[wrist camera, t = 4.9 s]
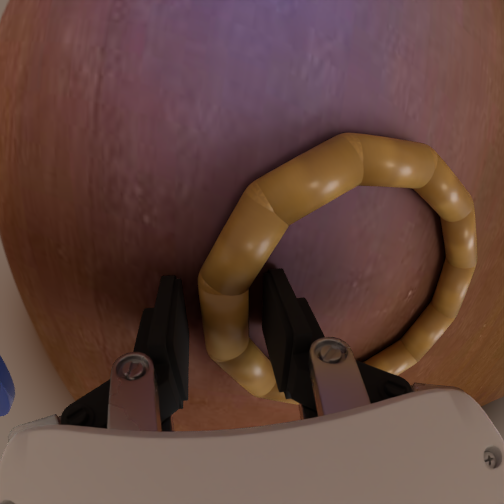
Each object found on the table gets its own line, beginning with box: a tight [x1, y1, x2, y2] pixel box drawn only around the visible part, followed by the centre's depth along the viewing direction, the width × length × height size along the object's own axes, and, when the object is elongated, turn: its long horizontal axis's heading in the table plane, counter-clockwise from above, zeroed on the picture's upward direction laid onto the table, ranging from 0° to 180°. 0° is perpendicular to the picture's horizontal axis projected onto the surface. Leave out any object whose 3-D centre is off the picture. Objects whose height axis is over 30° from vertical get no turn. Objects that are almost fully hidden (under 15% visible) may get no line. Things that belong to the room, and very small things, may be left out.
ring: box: [198, 133, 477, 404], centre depth 12 cm, size 14×14×2 cm
